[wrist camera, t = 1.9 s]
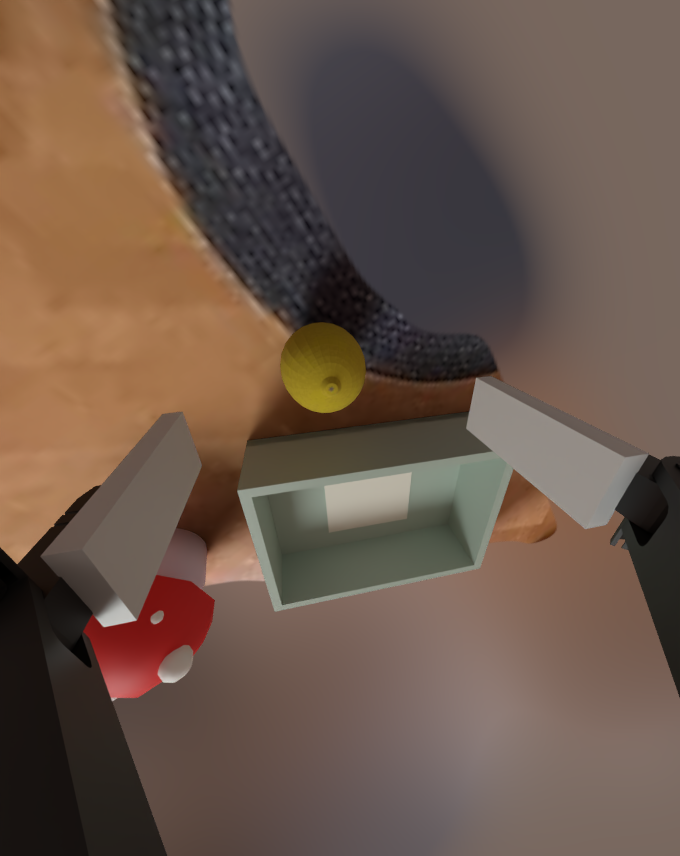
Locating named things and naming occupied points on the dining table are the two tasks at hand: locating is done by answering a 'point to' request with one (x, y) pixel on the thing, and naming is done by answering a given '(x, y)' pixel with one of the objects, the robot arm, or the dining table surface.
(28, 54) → the dining table surface
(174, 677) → the mushroom
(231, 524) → the dining table surface
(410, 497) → the crate
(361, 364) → the lemon
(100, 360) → the dining table surface
